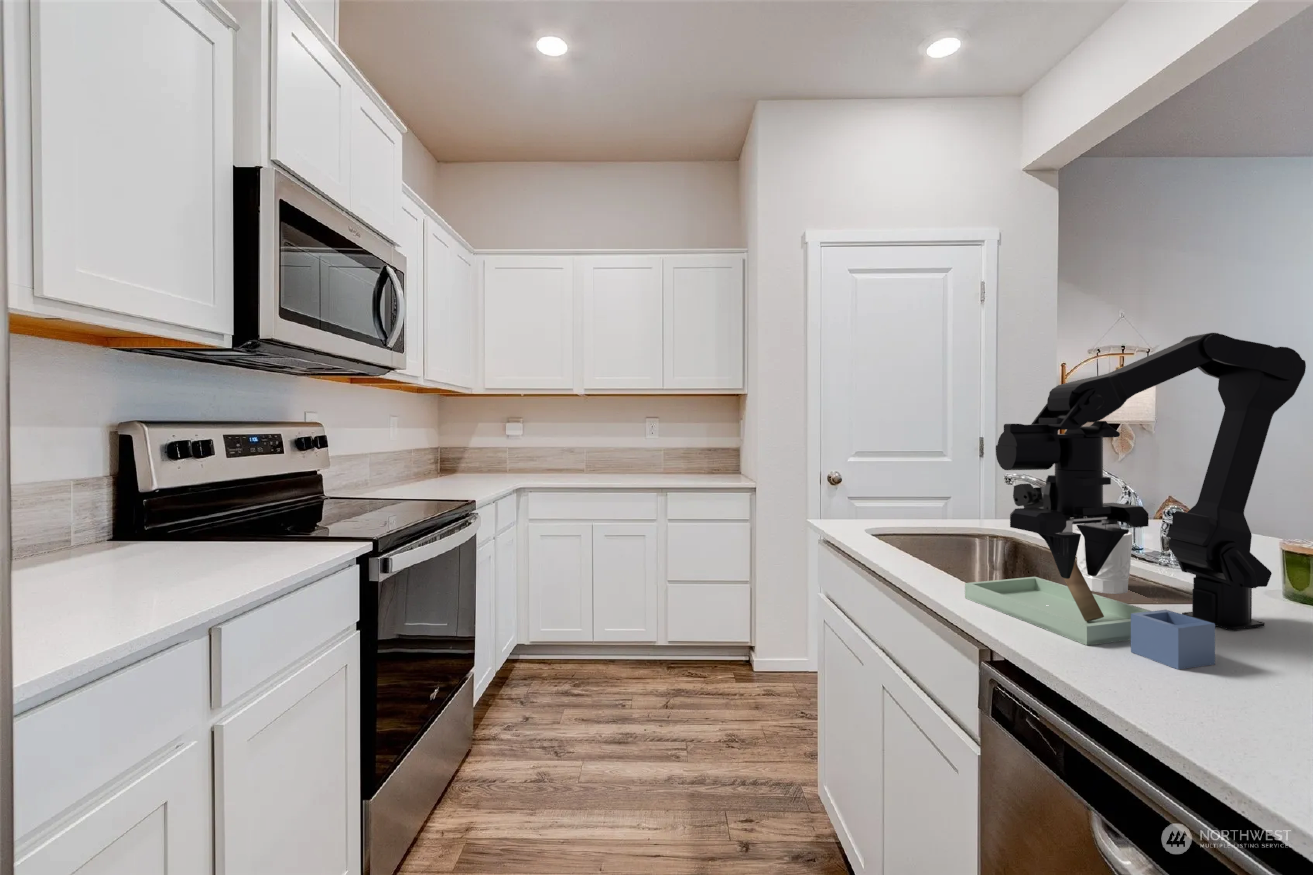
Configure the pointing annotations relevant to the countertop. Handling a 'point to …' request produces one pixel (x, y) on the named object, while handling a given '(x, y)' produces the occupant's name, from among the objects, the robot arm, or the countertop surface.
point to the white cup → (1108, 567)
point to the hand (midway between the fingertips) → (1078, 576)
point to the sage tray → (1054, 609)
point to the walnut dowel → (1083, 595)
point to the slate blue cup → (1173, 639)
